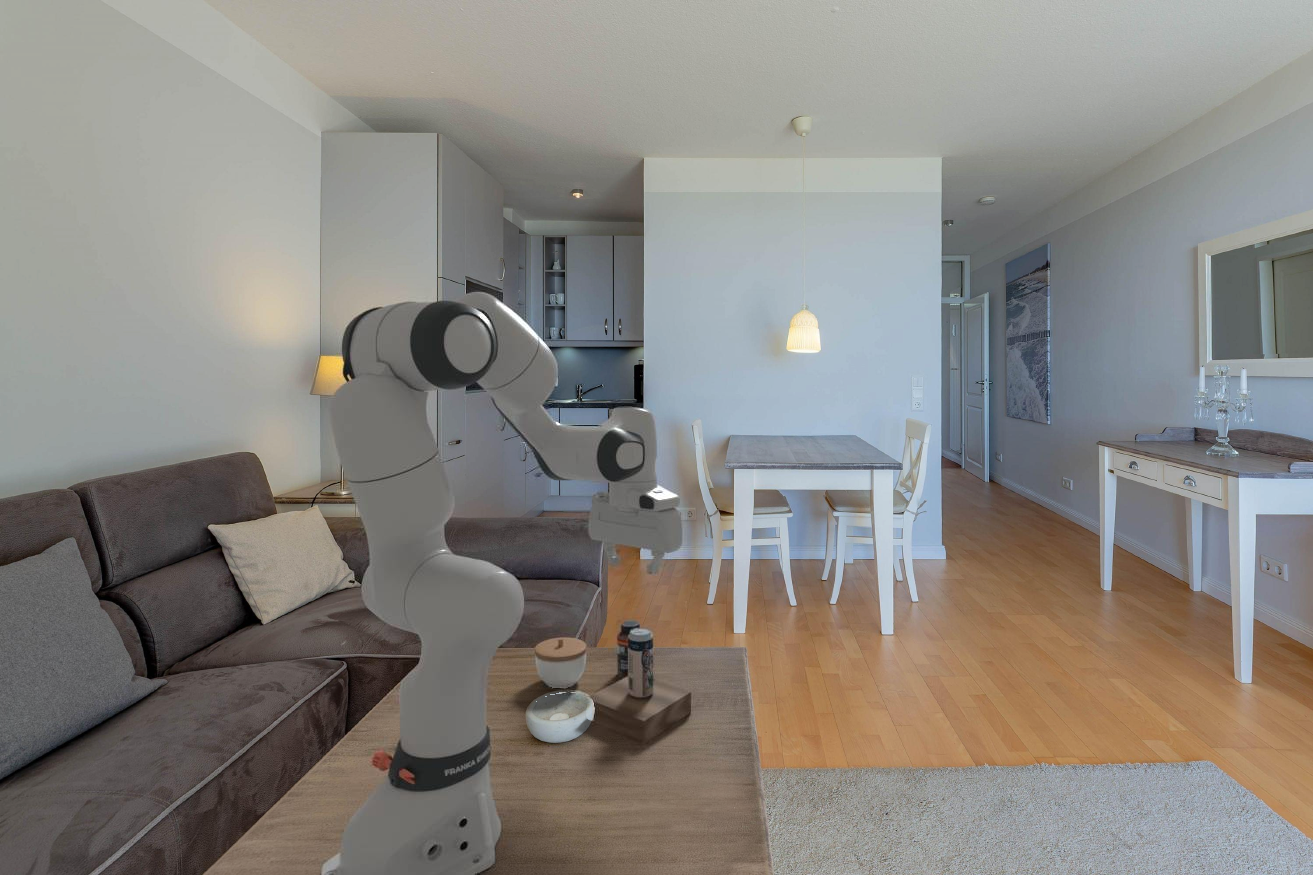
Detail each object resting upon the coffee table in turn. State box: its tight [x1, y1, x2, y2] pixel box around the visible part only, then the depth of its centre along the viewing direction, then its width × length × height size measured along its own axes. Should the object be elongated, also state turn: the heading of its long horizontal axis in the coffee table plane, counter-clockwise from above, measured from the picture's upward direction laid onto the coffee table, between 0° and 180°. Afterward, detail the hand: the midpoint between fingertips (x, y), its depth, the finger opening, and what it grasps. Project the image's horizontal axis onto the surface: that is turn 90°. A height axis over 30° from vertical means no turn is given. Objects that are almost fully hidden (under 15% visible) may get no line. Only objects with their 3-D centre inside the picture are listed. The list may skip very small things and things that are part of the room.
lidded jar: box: [534, 637, 588, 690], centre depth 137 cm, size 11×11×9 cm
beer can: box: [628, 627, 655, 698], centre depth 122 cm, size 5×5×12 cm
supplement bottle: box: [616, 619, 641, 679], centre depth 140 cm, size 6×6×11 cm
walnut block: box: [588, 676, 692, 744], centre depth 122 cm, size 14×14×4 cm
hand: (633, 569), depth 121 cm, fingers open, 8 cm apart
